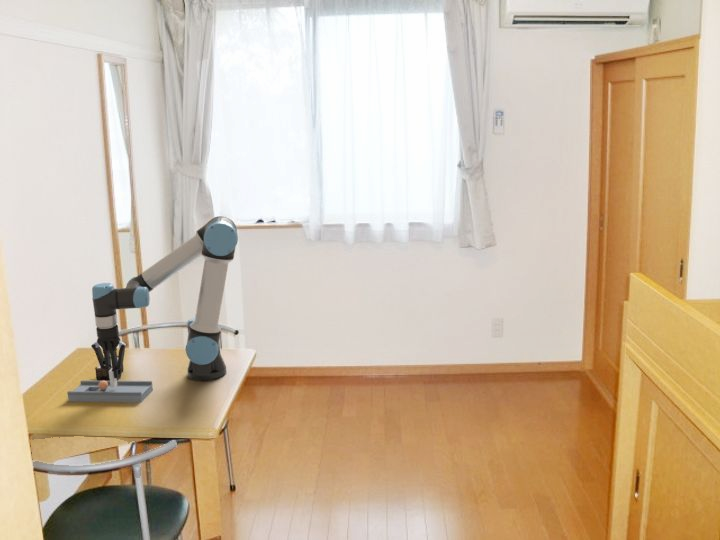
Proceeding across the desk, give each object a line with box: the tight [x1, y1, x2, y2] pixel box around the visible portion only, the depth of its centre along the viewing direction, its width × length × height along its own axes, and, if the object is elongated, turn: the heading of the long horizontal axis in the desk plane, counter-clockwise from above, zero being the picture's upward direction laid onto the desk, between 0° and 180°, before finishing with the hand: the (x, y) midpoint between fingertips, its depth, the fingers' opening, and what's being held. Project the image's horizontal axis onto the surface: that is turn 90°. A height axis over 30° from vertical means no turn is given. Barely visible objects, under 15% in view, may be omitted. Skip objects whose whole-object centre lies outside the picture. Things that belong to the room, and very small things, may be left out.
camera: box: [94, 354, 124, 381], centre depth 298 cm, size 15×8×10 cm, turn 175°
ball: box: [98, 380, 108, 390], centre depth 280 cm, size 4×4×4 cm
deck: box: [67, 380, 154, 403], centre depth 280 cm, size 28×11×4 cm, turn 84°
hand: (114, 386), depth 280 cm, fingers closed
